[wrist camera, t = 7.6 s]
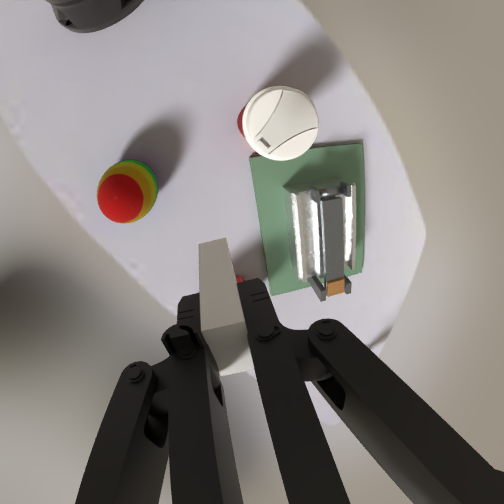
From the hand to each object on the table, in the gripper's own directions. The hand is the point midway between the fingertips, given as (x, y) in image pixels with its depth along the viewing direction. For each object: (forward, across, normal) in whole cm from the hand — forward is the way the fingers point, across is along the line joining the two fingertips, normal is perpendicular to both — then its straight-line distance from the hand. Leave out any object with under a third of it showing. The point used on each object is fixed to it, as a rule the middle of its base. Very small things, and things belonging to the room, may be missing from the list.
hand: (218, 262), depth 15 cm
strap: (+19, +15, -12) cm, 27 cm away
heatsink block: (+25, +15, -11) cm, 31 cm away
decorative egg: (+26, -11, +1) cm, 28 cm away
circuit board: (+26, +15, -12) cm, 32 cm away
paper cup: (+26, +8, +6) cm, 28 cm away
